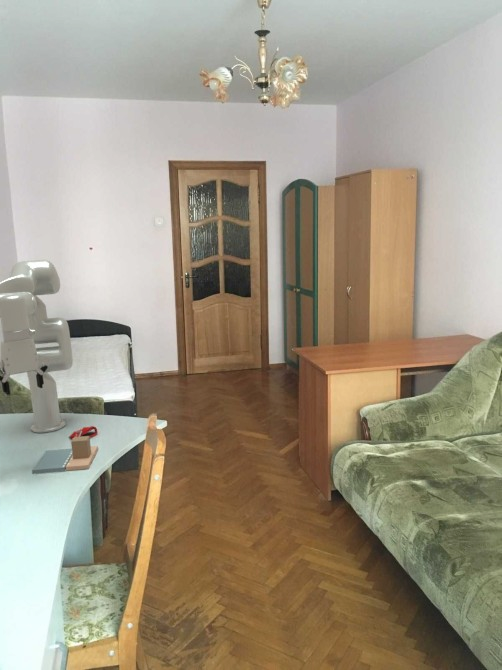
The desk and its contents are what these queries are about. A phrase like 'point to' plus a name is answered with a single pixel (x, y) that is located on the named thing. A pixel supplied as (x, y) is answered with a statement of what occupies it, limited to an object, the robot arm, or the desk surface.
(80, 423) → the desk surface
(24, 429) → the desk surface
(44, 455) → the board
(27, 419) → the desk surface
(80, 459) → the stub
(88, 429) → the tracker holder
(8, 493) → the desk surface
